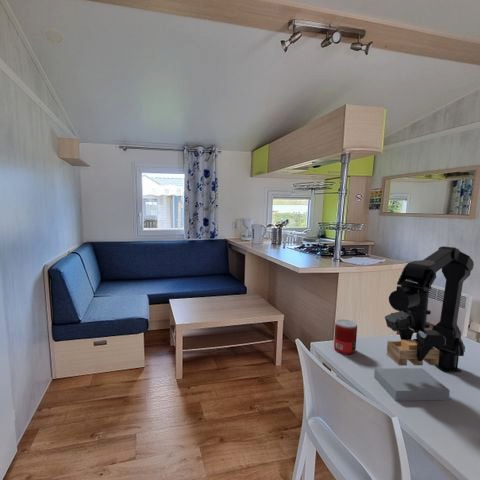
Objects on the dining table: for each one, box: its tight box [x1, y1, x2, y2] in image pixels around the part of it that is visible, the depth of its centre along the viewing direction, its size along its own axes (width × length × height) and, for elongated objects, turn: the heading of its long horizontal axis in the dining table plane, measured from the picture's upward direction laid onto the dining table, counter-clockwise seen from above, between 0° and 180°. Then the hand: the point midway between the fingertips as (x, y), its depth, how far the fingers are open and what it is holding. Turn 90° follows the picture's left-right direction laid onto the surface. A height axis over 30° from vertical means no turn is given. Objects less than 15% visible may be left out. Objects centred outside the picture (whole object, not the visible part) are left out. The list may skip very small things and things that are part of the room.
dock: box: [373, 367, 451, 402], centre depth 92 cm, size 16×12×3 cm
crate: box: [400, 339, 417, 350], centre depth 91 cm, size 5×4×2 cm
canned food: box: [333, 318, 358, 355], centre depth 116 cm, size 8×8×11 cm
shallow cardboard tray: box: [386, 340, 440, 367], centre depth 91 cm, size 12×7×4 cm, turn 93°
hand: (412, 354), depth 91 cm, fingers closed on shallow cardboard tray, 7 cm apart
